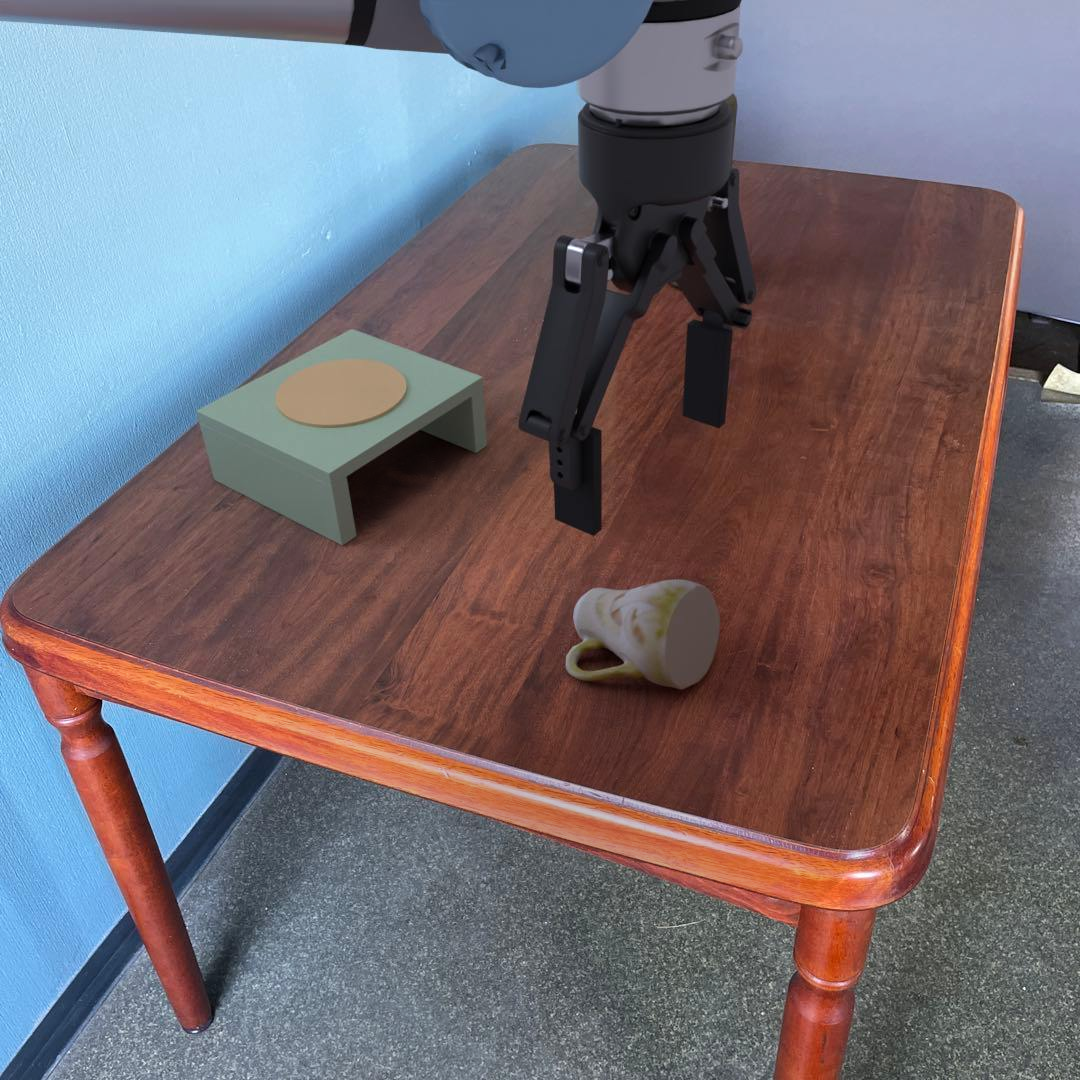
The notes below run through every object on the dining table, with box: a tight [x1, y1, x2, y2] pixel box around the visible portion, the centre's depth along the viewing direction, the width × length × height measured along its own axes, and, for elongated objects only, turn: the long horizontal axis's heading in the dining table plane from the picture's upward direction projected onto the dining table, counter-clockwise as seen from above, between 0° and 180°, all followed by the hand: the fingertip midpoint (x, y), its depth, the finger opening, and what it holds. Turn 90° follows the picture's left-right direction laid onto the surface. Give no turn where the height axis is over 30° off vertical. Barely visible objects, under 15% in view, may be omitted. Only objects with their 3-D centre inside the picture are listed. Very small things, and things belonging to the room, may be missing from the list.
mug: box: [565, 578, 721, 690], centre depth 72 cm, size 8×10×10 cm
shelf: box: [195, 328, 488, 546], centre depth 93 cm, size 16×18×7 cm
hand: (644, 469), depth 65 cm, fingers open, 13 cm apart
